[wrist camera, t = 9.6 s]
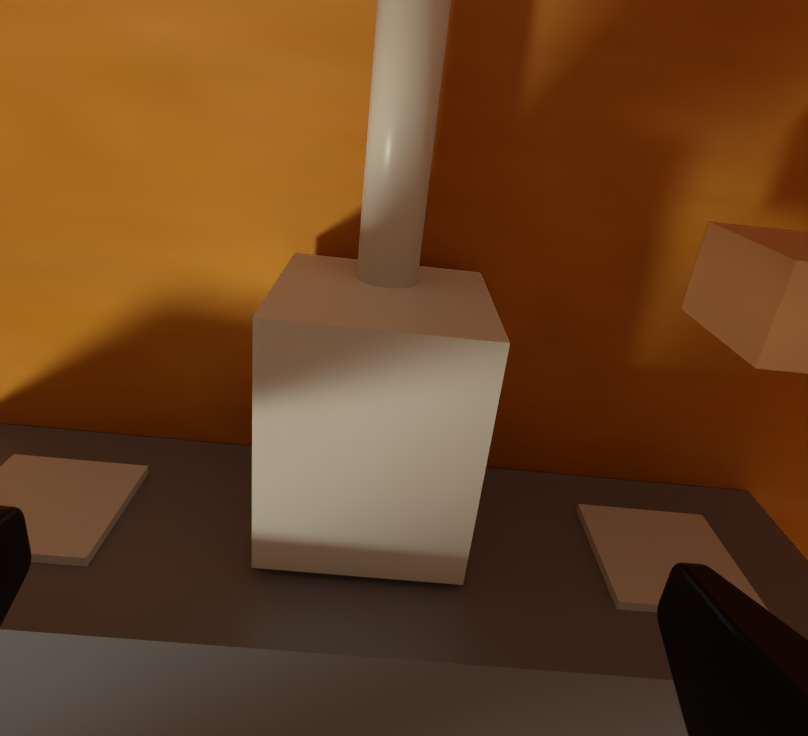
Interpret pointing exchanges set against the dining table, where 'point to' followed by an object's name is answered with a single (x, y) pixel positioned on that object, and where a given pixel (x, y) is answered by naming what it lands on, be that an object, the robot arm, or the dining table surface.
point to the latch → (753, 293)
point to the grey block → (350, 604)
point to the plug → (378, 361)
